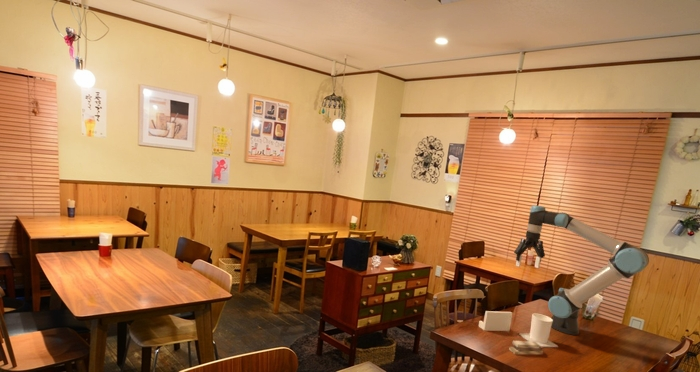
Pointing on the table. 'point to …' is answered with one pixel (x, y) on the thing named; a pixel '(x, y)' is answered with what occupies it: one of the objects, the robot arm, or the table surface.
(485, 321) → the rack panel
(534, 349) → the offcut stack
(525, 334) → the felt pad
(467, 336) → the table surface
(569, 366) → the table surface
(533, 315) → the candle holder
